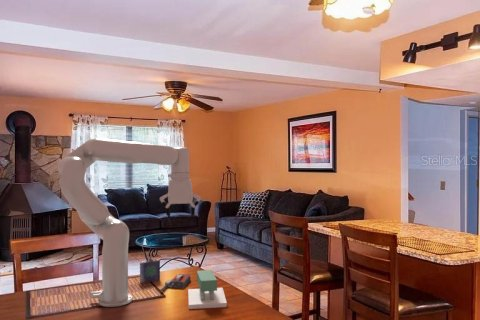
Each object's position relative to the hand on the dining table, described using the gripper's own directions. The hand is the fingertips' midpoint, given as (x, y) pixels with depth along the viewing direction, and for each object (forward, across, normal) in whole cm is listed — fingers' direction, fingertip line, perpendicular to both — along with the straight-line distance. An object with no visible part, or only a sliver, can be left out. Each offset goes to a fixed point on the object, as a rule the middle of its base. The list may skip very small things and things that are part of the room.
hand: (180, 217), depth 175 cm
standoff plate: (+30, +10, -15) cm, 35 cm away
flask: (+31, -14, +13) cm, 36 cm away
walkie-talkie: (+31, -2, +4) cm, 31 cm away
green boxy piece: (+25, +10, -15) cm, 31 cm away
